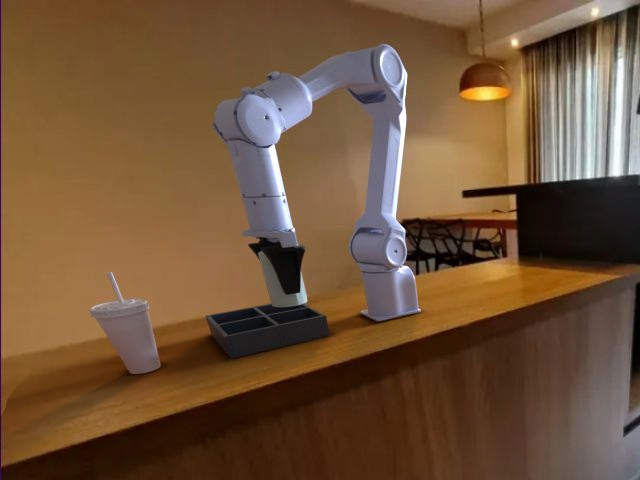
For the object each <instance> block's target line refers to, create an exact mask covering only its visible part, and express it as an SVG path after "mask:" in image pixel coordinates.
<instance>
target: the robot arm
mask: <svg viewBox="0 0 640 480" xmlns="http://www.w3.org/2000/svg"><path fill="white" fill-rule="evenodd" d="M265 78H266V79H267V80H266V81H264V82H263V83H260V84H259V85H257V86H254V87H253V88H251V86H245V87H243V88H241V89H240V94H241V96H240V97H237V98H231V99H227V100H223V101H221V102H220V103H218V105H217V106H216V110H215V111H214V121H213V122H212V123H211V125H212V127H213V130H214V132H215V133H216V135H217V136H218V137H219V139H220V141H222V142H223V143H224V144H225V146H226V147H227V150H228V153H229V157H230V159H231V162H232V166H233V170H234V174H235V178H236V181H237V185H238V189H239V193H240V196H241V200H242V204H243V208H244V211H245V216H246V219H247V223H248V227H249V229H246V230H241V236H243V237H253V238H254V239H255V240H258V241H257V242H251V243H248V244H247V245H248V248H249V249H250V250H251V251H252V252H253V254H254V255H255V256H256V258H257V259H258V261H260V259H259V255H258V253H259V252H261V251H262V252H263V253H264V254H265V255H266V257H267V258H268V260H269V261H270V263H271V264H272V266H273V268H274V270H275V272H276V274H277V277H278V280H279V282H280V285H281V287H282V289H283V291H284V293H285V294H286V295H289V294H295V293H300V290H301V273H302V265H303V259H304V256H305V253H306V245H303V244H298V239H297V234H296V229H295V226H293V221H292V218H291V212H290V208H289V204H288V200H287V195H286V191H285V187H284V182H283V178H282V173H281V168H280V163H279V160H278V159H279V158H278V153H277V150H276V149H277V148H276V145H277V143H278V142H279V141H280V138H281V134H283V133H284V132H286V131H287V130H289V129H291V128H293V127H295V125H297V124H299V123H300V122H302V121H303V120H305V119H307V118H309V117H310V116H311V115H312V112H313V102H316V101H317V100H319V99H320V98H323V97H325V96H327V95H328V94H330V93H333V92H334V91H337V90H338V89H340V90H346V92H347V93H348V94H349V95H350V96H351V97H352V98H353V100H354V101H355V102H356V103H357V104H358V105H359V107H360V108H361V109H362V110H363V111H364V112H365V113H366V114H367V115H368V116H370V119H371V120H372V121H373V127H372V137H371V146H370V147H371V148H370V156H369V168H368V177H367V188H366V199H365V207H364V208H365V209H364V213H363V214H362V215H361V216H360V217H359V218H358V220H356V222H355V223H354V230H353V233H352V235H351V236H350V238H349V240H348V252H349V255H350V258H351V259H352V260H353V262H355V263H356V264H357V266H358V267H357V268H358V269H359V270H360V272H361V278H362V283H363V289H364V297H365V302H366V308H367V309H364V310H360V312H359V313H360V315H363V316H365V317H367V318H369V319H371V320H373V321H375V322H384V321H387V320H393V319H395V318H400V317H404V316H409V315H413V314H417V313H421V312H422V311H421V309H420V308H419V299H418V293H417V283H416V278H415V275H414V273H413V271H412V269H411V268H410V267H409V266H407V265H404V263H405V262H406V259H407V255H408V249H407V243H406V229H405V228H404V227H403V225H401V223H400V222H399V221H398V220H397V210H398V200H399V192H400V183H401V172H402V164H403V155H404V146H405V137H406V126H407V111H406V102H405V99H406V90H407V81H408V73H407V71H406V69H405V67H404V64H403V62H402V60H401V58H400V56H399V54H398V52H397V51H396V50H395V48H393V47H392V46H391V45H390V44H386V43H381V44H379V45H377V46H374V47H369V48H364V49H359V50H355V51H346V52H344V53H341V54H337V55H332V56H330V57H329V58H327V59H325V60H324V61H322V62H321V63H318V64H317V65H316V66H315V67H313V68H311V69H310V70H308V71H306V72H305V73H302V74H301V75H299V77H296V76H294V75H292V74H290V73H287V72H282V73H280V71H278V70H276V71H271V72H269V73H267V74H266V75H265Z"/></svg>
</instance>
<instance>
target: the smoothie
mask: <svg viewBox="0 0 640 480" xmlns="http://www.w3.org/2000/svg"><path fill="white" fill-rule="evenodd" d="M106 275H107V277H108V279H109V281H110V284H111V286H112V289H113V291H114V294H115V296H116V298H117V300H113V301H112V300H111V301H107V302H103V303H100V304H96V305H92V307H90V308H88V311H89V313H90V317H91V318H93V319H95V320H96V321H97V323H98V325H99V326H100V328H101V329H102V331H103V332H104V334H105V335H106V338H107V339H108V340H109V342H110V343H111V345H112V347H113V348H114V350H115V352H116V353H117V355H118V356H119V358H120V359H121V361H122V363H123V364H124V366H125V367H126V369H127V371H128V372H129V374H133V375H139V374H146V373H150V372H153V371H156V370H158V369H159V368H161V366H162V365H161V360H160V355H159V351H158V348H157V343H156V339H155V334H154V331H153V327H152V322H151V321H152V320H151V318H150V313H149V309H150V308H151V307H150V306H151V305H149V302H148V300H146V299H143V298H128V299H124V297H123V296H122V295H123V294H122V293H121V291H120V288H119V285H118V284H117V281H116V278H115V276H114V274H113V271H106Z"/></svg>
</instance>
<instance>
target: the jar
mask: <svg viewBox="0 0 640 480" xmlns="http://www.w3.org/2000/svg"><path fill="white" fill-rule="evenodd" d="M258 255H259V259H260V260H259V259H258V260H259V262H260V266H261V270H262V274H263V277H264V281H265V286H266V289H267V294H268V298H269V301H270V304H272V306H274V307H291V306H297V305H301V304H306V303H308V295H307V292H306V291H307V290H306V287H305V281H304V278H303V273H302V272H301V290H300V293H295V294H289V295H286V294H285V293H284V291H283V289H282V287H281V285H280V282H279V280H278V277H277V274H276V272H275V270H274V268H273V266H272V264H271V263H270V261H269V260H268V258H267V257H266V255H265V254H264V253H263V252H262V251H261V252H259V253H258Z"/></svg>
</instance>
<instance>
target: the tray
mask: <svg viewBox="0 0 640 480" xmlns="http://www.w3.org/2000/svg"><path fill="white" fill-rule="evenodd" d="M205 319H206V323H207V325H208V329H209V332H210V334H211V336H212V337H213V338H214V340H215V341H216V342H217V343H218V344H219V346H220V347H221V348H222V349H223V351H224V352H225V353H226V354H227V355H228V357H229V358H230V359H231V360H232V359H237V358H241V357H245V356H250V355H254V354H258V353H261V352H267V351H270V350H275V349H278V348H279V349H280V348H283V347H286V346H287V347H288V346H292V345H296V344H301V343H304V342H309V341H313V340H318V339H320V338H321V339H322V338H326V337H329V336H331V333H330V327H329V322H328V318H327V315H326V314H324V313H322V312H320V311H318V310H317V309H316V308H313V307H312V306H310V305H308V304H306V303H304V304H301V305H297V306H291V307H274V306H272V304H271V303H267V304H262V305H256V306H251V307H245V308H240V309H235V310H229V311H224V312H218V313H211V314H207V315H205Z"/></svg>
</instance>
